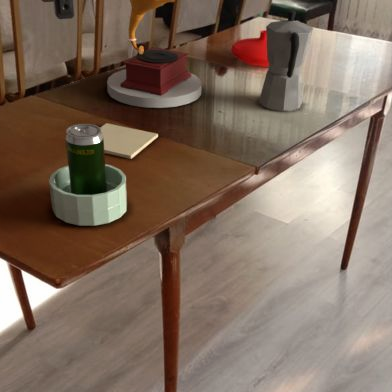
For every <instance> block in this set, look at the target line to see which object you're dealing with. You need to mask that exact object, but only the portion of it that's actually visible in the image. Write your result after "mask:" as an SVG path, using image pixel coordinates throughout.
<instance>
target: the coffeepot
mask: <svg viewBox="0 0 392 392" xmlns="http://www.w3.org/2000/svg"><path fill="white" fill-rule="evenodd" d="M296 14H297V11H296V10H293V9H290V10H287V19H280V20H277V21H271V22H269V23H268V24H267V25H266V26H265V30H266V36H267V61H268V62H269V67H267V68H268V69H267V71H266V73H265V77H264V80H263V84H262V89H261V92H260V95H259V100H258V102H259V104H260V105H261V106H262V107H263V108H265V109H268V110H271V111H275V112H276V111H277V112H291V111H296V110H298V109H300V107H301V105H302V104H303V77H302V76H303V74H302V65H303V64H304V62H305V60H306V55H307V52H308V48H309V45H310V42H311V39H312V35H313V31H314V27H312V26H310V25H308V24H306V23H304V22H301V21H297V20H295V17H296Z"/></svg>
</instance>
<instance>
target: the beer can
mask: <svg viewBox="0 0 392 392" xmlns="http://www.w3.org/2000/svg"><path fill="white" fill-rule="evenodd" d="M100 127H101V126H98V125H96V124H92V123H91V124H90V123H78V124H73V125H71V126H69V127H67V128H66V131H65V132H66V135H65V136H64V138H65V148H66V155H67V156H66V157H67V166H68V167H69V177H70V187H71V193H72V194H77V195H94V194H100V193H105V192H107V186H106V170H105V164H106V157H105V156H106V155H105V154H106V153H104V138H103V135H102V132H101V128H100Z"/></svg>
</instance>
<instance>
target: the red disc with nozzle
mask: <svg viewBox="0 0 392 392" xmlns="http://www.w3.org/2000/svg"><path fill="white" fill-rule="evenodd" d="M230 50H231V55H232V56H233V57H234V58H236V59H237V60H238V61H240V62H242V63H244V64H246V65H249V66H254V67H260V68H261V67H262V68H269V62H268V61H267V36H266V29H265V30H263V29H262V30H260V32H259V37H250V38H249V37H248V38H242V39H238V40H236V41H235V42H234V43H233V44H232V45H231V47H230Z"/></svg>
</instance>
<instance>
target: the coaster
mask: <svg viewBox="0 0 392 392" xmlns="http://www.w3.org/2000/svg"><path fill="white" fill-rule="evenodd" d="M99 127H100V128H101V132H102V135H103V138H104V154H107V155H112V156H116V157H121V158H124V159H125V158H126V159H128V160H129V159H130V160H132V159H133V158H135V157H136V156H137V155H138V154H139V153H140V152H141V151H143V150H144V149H145V148H147V146H149V145H150V144H152V142H153V141H155V140H156V139H157V138H158V137H159V133H156V132H151V131H146V130H141V129H137V128H131V127H128V126H123V125H118V124H113V123H107V122H106V123H104V124H103V125H102V126H99Z"/></svg>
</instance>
